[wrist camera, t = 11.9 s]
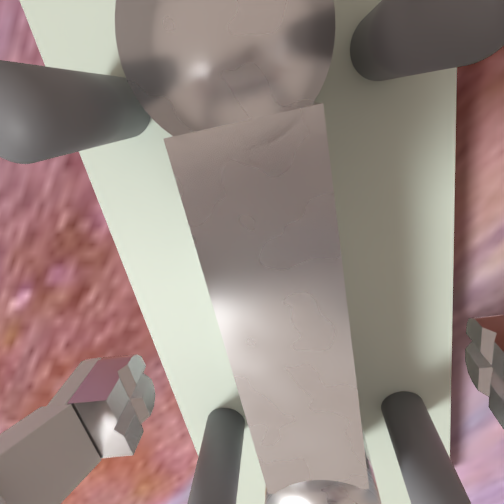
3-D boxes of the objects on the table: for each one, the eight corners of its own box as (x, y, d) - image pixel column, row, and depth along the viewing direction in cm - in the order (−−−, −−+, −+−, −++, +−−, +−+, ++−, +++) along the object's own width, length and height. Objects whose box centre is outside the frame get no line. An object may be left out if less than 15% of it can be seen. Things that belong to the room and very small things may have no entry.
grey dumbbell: (304, -48, 9) (319, -147, 5) (364, 450, 16) (387, 550, 13) (155, -5, 10) (80, -66, 6) (277, 456, 17) (275, 553, 13)
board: (434, -300, 8) (834, -1345, 2) (436, 474, 19) (508, 647, 13) (-3, -133, 10) (-413, -469, 4) (225, 486, 21) (202, 641, 15)
